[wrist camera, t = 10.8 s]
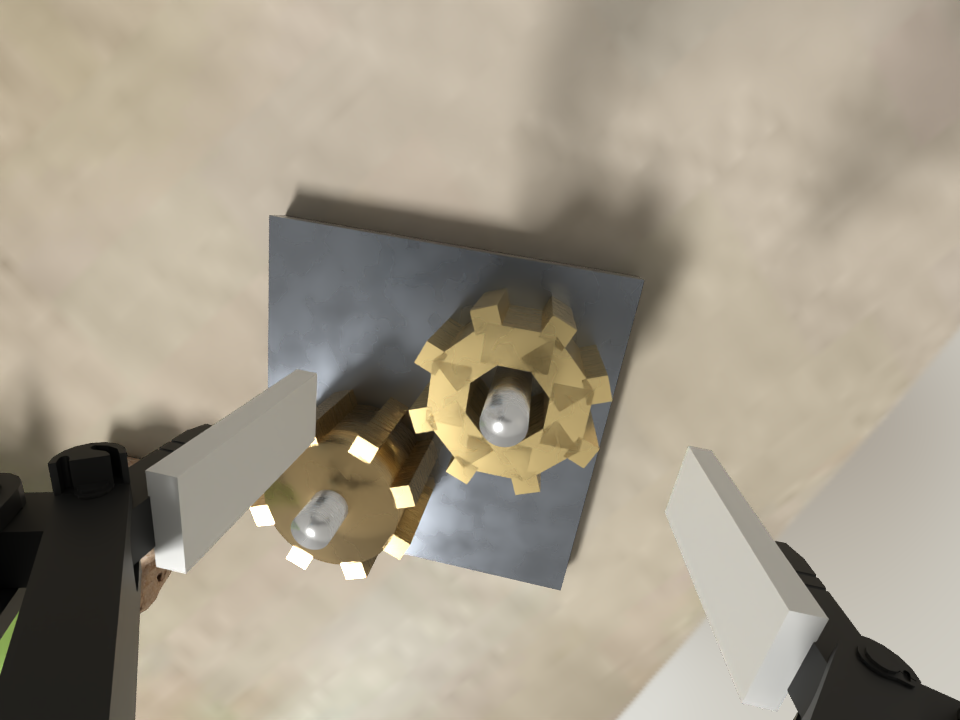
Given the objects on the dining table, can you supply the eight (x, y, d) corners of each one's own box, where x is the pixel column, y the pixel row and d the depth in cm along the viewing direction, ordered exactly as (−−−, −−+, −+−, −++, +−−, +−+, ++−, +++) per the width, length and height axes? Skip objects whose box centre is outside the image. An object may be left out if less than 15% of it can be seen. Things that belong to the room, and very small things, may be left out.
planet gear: (446, 277, 24) (422, 291, 19) (614, 306, 23) (631, 329, 19) (427, 426, 27) (401, 470, 22) (576, 456, 26) (583, 509, 21)
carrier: (284, 215, 26) (166, 213, 18) (638, 276, 24) (684, 305, 16) (279, 508, 32) (190, 605, 24) (559, 573, 30) (564, 700, 22)
